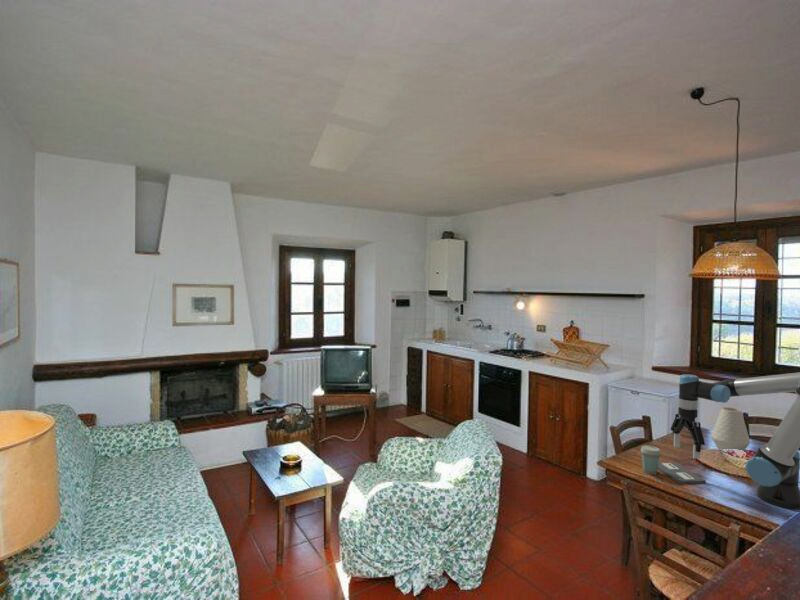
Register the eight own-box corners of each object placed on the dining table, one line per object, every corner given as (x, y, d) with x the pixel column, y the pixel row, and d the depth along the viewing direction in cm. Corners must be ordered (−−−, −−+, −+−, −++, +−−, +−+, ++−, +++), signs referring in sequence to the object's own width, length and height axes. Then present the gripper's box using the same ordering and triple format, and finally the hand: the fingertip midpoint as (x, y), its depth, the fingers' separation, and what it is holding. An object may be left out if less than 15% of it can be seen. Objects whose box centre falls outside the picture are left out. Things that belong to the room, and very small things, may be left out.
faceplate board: (705, 483, 205) (705, 479, 205) (678, 483, 205) (678, 480, 205) (677, 465, 225) (677, 462, 225) (652, 465, 225) (652, 462, 224)
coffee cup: (662, 476, 211) (663, 452, 211) (643, 475, 213) (644, 450, 213) (656, 469, 220) (657, 445, 219) (637, 467, 221) (638, 444, 221)
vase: (747, 459, 233) (749, 416, 232) (707, 450, 245) (709, 409, 244) (751, 450, 246) (753, 409, 245) (713, 442, 258) (715, 403, 257)
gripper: (715, 416, 195) (713, 463, 196) (678, 400, 220) (676, 442, 221) (698, 416, 195) (697, 463, 196) (663, 400, 220) (662, 442, 221)
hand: (686, 452), depth 209 cm, fingers open, 13 cm apart
